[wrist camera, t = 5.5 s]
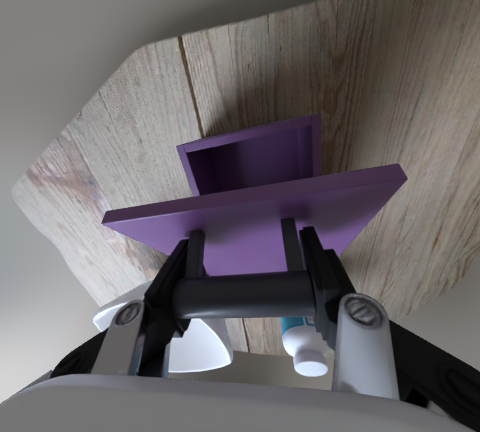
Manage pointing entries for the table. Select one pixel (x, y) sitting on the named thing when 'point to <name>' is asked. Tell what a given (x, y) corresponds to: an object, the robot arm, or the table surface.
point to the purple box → (254, 156)
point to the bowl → (190, 345)
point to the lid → (257, 239)
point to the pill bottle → (304, 345)
